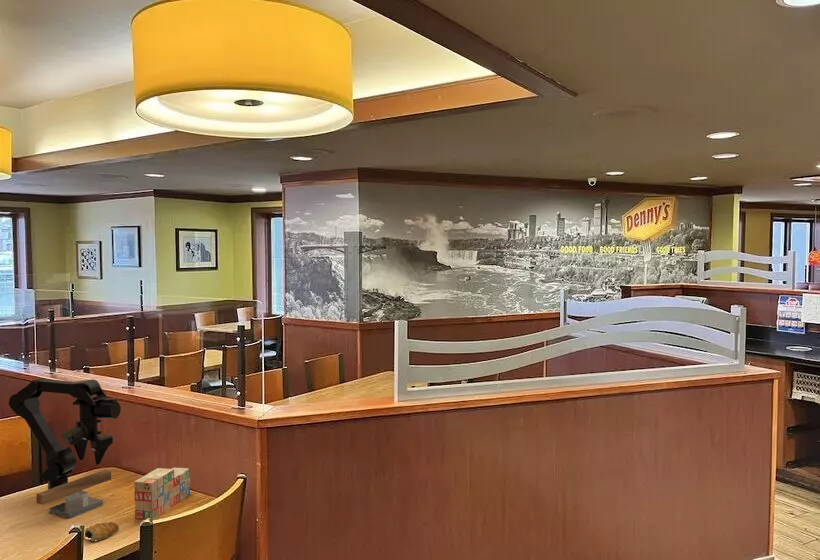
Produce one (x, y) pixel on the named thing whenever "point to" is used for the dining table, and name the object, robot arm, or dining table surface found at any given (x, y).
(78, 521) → the dining table surface
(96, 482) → the walnut rod
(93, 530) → the pastry
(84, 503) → the fulcrum stand
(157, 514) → the stack of blocks
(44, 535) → the dining table surface
